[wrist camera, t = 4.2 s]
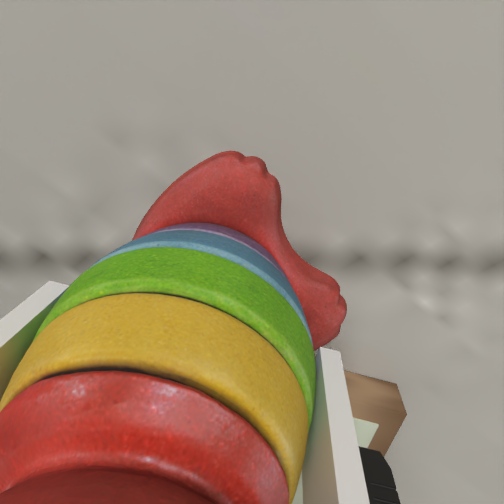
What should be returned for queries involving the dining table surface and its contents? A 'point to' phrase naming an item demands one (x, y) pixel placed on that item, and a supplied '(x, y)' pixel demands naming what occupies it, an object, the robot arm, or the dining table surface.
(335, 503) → the robot arm
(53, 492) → the stacking bear
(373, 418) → the picture frame
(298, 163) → the dining table surface
